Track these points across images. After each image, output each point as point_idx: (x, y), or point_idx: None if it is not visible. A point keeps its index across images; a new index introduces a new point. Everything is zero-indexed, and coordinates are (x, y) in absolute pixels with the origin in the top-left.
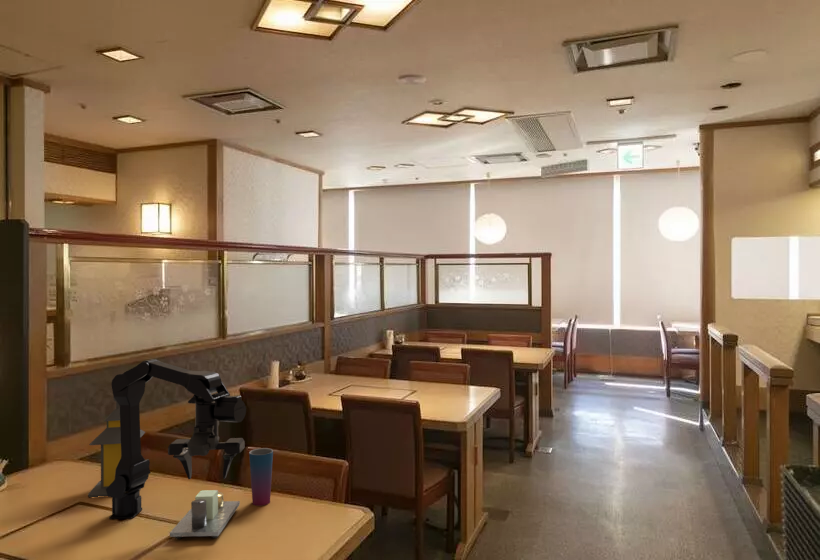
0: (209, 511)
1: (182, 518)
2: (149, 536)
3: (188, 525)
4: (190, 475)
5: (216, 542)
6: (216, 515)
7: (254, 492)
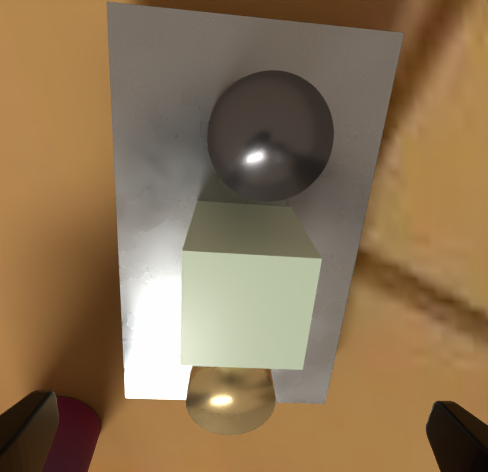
0: (213, 215)
1: (361, 228)
2: (484, 133)
3: None
4: (451, 445)
5: None
6: None
7: (57, 451)
